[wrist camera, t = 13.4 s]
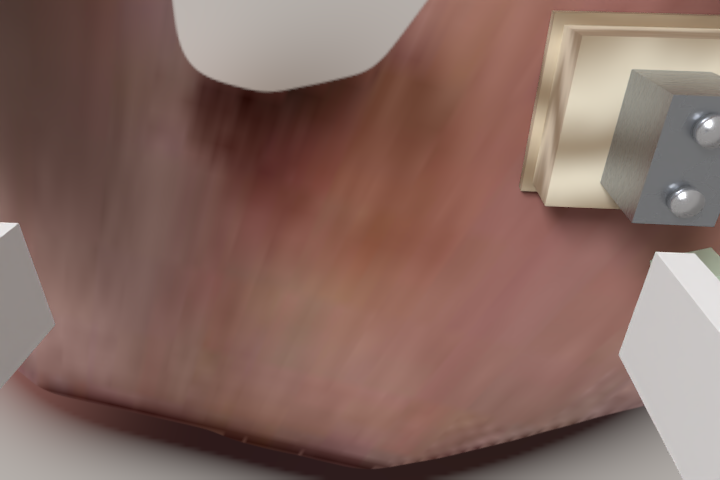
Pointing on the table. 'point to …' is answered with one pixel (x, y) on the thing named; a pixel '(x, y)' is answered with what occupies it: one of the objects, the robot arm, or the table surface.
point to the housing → (667, 149)
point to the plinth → (600, 92)
